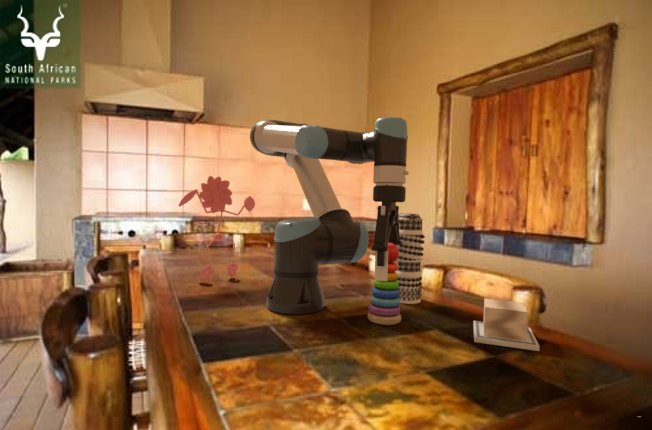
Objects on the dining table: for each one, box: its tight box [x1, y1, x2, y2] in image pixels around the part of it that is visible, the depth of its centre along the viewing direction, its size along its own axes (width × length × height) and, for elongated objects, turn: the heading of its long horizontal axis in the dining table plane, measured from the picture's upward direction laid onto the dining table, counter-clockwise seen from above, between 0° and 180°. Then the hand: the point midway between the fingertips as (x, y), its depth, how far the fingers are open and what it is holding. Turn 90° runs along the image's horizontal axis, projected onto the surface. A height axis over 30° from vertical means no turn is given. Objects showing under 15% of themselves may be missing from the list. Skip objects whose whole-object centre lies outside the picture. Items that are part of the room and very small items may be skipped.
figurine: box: [178, 175, 256, 285], centre depth 133 cm, size 15×26×35 cm, turn 135°
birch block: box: [482, 297, 529, 341], centre depth 85 cm, size 8×8×6 cm
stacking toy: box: [367, 242, 402, 326], centre depth 93 cm, size 8×8×19 cm
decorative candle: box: [395, 212, 426, 305], centre depth 113 cm, size 9×9×25 cm
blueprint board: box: [472, 320, 540, 352], centre depth 85 cm, size 12×12×1 cm
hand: (386, 275), depth 93 cm, fingers open, 13 cm apart
